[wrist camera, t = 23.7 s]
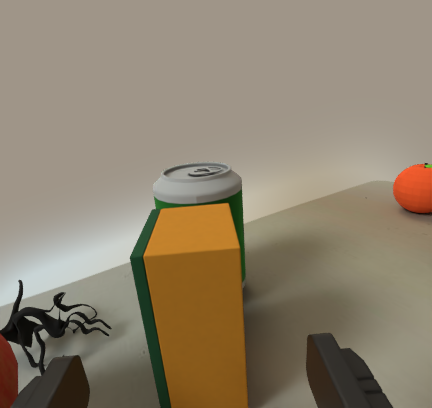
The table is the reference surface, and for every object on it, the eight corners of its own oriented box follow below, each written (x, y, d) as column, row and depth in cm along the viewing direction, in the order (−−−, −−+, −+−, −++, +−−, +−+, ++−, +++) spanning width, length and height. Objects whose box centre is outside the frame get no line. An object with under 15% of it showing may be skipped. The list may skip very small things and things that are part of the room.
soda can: (260, 301, 25) (257, 171, 21) (179, 327, 23) (158, 187, 19) (228, 261, 32) (221, 156, 28) (163, 278, 30) (145, 167, 26)
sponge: (236, 334, 22) (228, 202, 18) (248, 413, 16) (240, 247, 13) (173, 340, 22) (151, 209, 18) (163, 422, 16) (129, 257, 13)
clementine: (457, 208, 41) (469, 160, 38) (458, 226, 36) (471, 171, 33) (393, 200, 46) (400, 156, 43) (386, 215, 41) (393, 166, 38)
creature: (118, 315, 27) (26, 313, 25) (121, 266, 25) (22, 260, 24) (97, 395, 19) (-35, 398, 18) (99, 332, 18) (-47, 331, 16)
